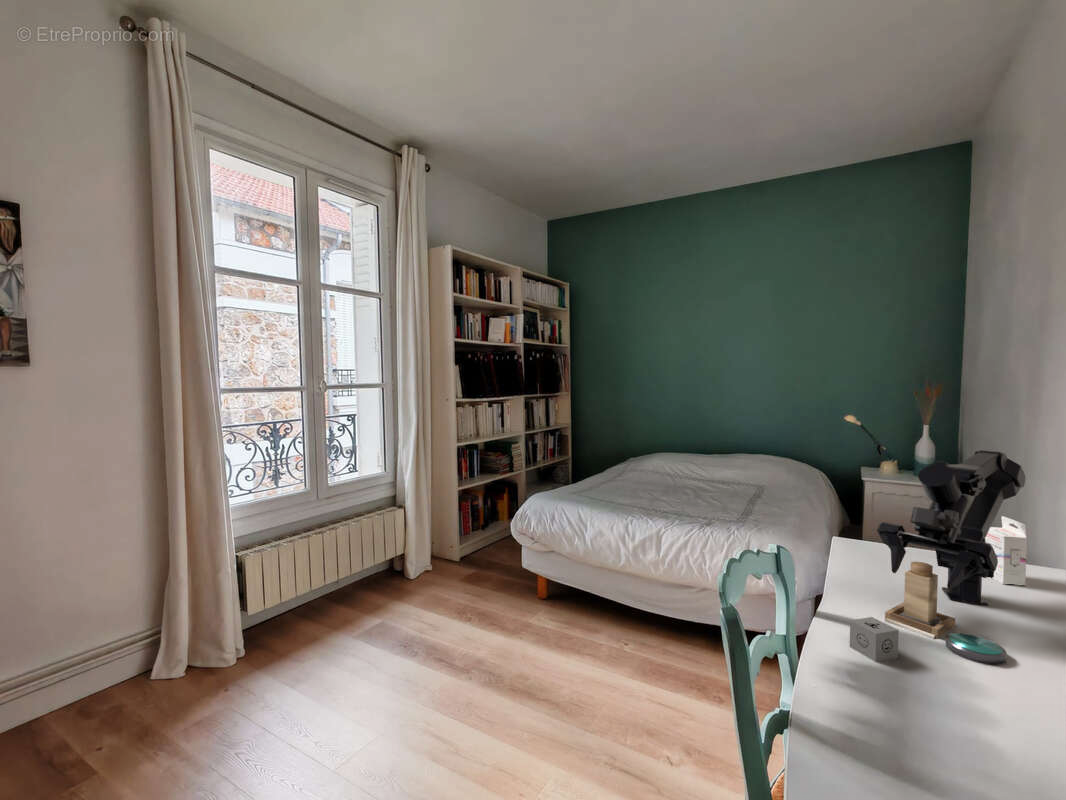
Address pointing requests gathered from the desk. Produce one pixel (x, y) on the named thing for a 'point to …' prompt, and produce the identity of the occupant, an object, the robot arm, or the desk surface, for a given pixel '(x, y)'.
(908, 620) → the frame
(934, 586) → the stamp
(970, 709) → the desk surface
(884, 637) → the dice cube
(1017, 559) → the ink cartridge box
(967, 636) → the pad
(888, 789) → the desk surface
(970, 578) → the robot arm
